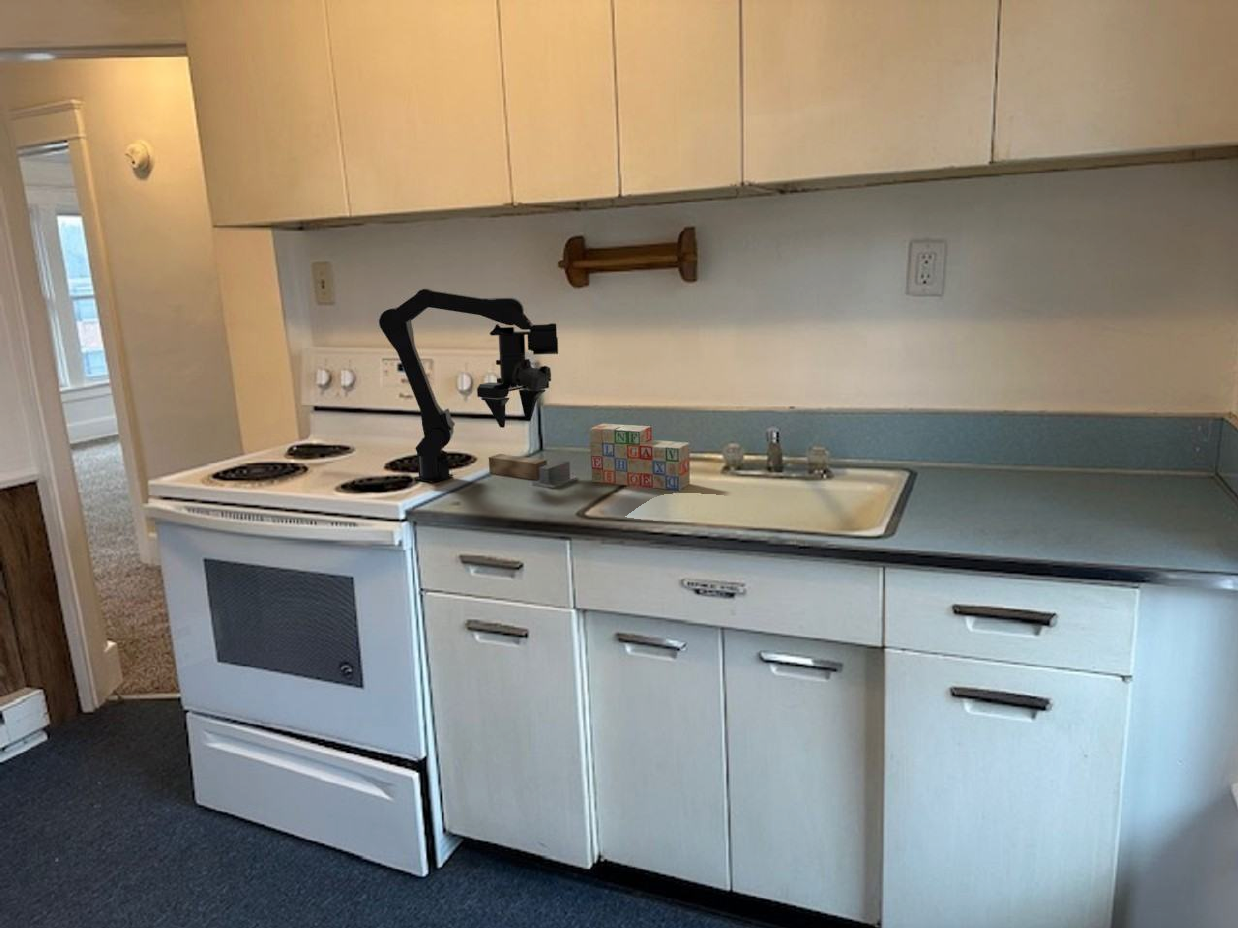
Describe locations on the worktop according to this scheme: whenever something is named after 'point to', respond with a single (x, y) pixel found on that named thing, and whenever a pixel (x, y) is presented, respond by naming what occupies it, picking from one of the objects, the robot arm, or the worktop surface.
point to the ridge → (555, 475)
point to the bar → (516, 466)
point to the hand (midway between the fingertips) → (515, 424)
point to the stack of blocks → (637, 458)
